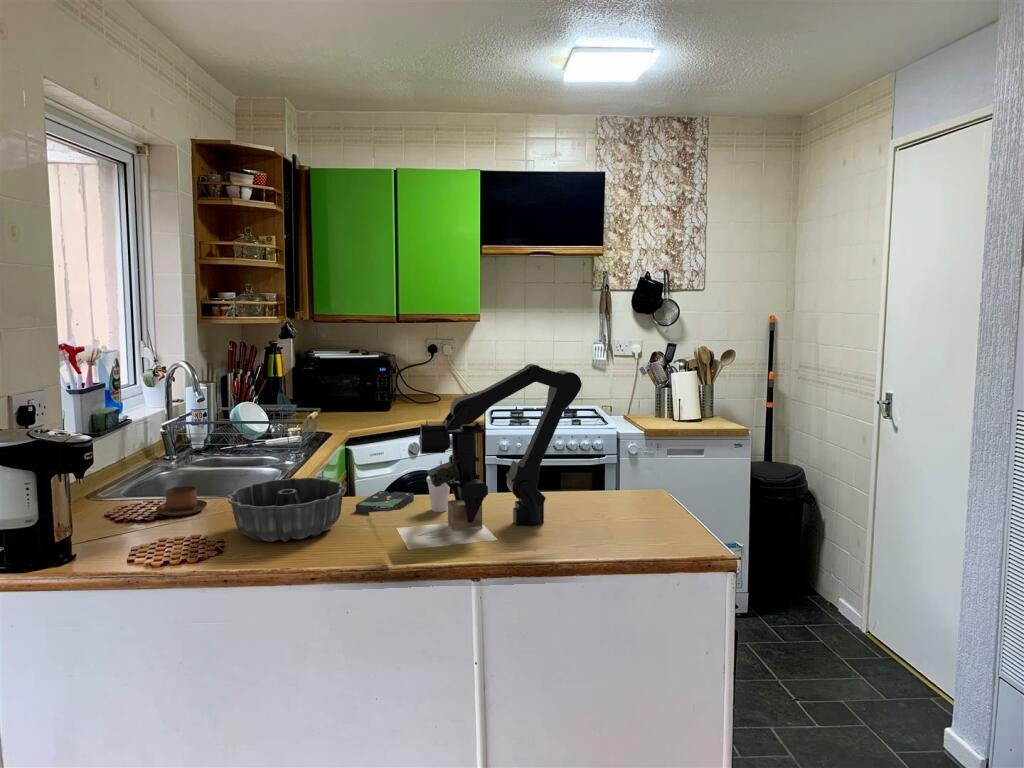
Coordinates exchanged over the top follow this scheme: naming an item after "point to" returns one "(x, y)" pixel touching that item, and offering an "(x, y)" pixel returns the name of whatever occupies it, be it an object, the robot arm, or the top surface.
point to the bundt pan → (287, 508)
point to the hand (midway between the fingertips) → (465, 517)
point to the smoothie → (438, 495)
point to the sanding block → (462, 517)
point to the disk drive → (384, 502)
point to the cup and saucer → (181, 502)
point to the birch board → (441, 536)
